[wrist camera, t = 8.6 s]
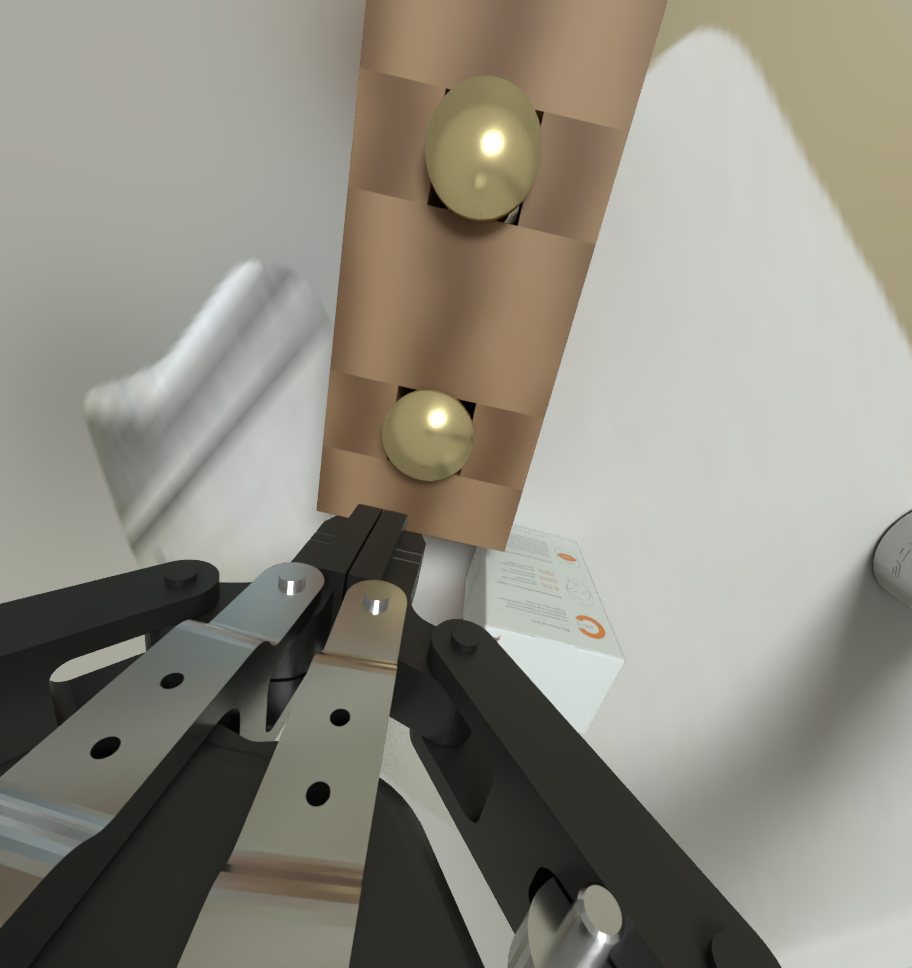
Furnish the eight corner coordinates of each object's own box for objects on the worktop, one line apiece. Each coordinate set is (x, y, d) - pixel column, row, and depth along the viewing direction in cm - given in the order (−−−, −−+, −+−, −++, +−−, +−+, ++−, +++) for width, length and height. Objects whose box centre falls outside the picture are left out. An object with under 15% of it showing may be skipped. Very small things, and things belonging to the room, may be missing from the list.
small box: (464, 579, 37) (454, 706, 25) (484, 516, 34) (484, 622, 22) (553, 601, 37) (586, 739, 25) (579, 541, 35) (629, 659, 23)
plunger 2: (534, 162, 25) (557, 91, 17) (512, 255, 27) (524, 229, 19) (452, 143, 25) (437, 62, 17) (436, 237, 27) (415, 204, 19)
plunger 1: (483, 381, 30) (483, 403, 22) (468, 447, 32) (462, 489, 24) (414, 365, 30) (389, 381, 22) (403, 432, 32) (375, 469, 24)
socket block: (611, 98, 24) (667, 0, 17) (500, 500, 34) (504, 552, 26) (408, 49, 24) (373, -72, 17) (354, 468, 34) (316, 510, 26)
